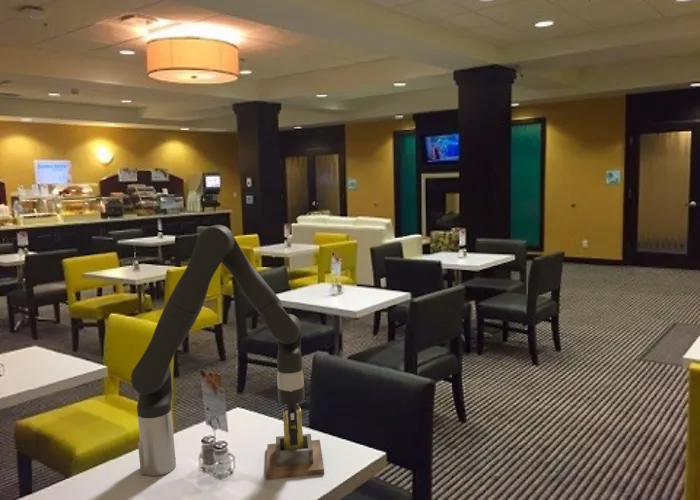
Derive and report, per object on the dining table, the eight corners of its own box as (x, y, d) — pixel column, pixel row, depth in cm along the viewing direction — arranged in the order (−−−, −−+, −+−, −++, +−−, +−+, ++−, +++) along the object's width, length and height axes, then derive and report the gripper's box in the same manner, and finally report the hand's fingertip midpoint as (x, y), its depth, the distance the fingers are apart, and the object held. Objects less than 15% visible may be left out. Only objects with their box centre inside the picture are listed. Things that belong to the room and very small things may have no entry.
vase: (295, 463, 167) (292, 415, 165) (279, 457, 171) (276, 411, 169) (309, 454, 172) (306, 408, 170) (293, 449, 175) (291, 403, 173)
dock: (266, 479, 162) (265, 460, 161) (267, 448, 179) (266, 431, 179) (324, 474, 163) (323, 455, 163) (319, 444, 181) (319, 427, 180)
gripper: (277, 376, 175) (280, 428, 177) (277, 395, 161) (280, 450, 163) (302, 375, 176) (305, 426, 178) (304, 392, 162) (307, 448, 164)
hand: (293, 437), depth 170 cm, fingers open, 8 cm apart
